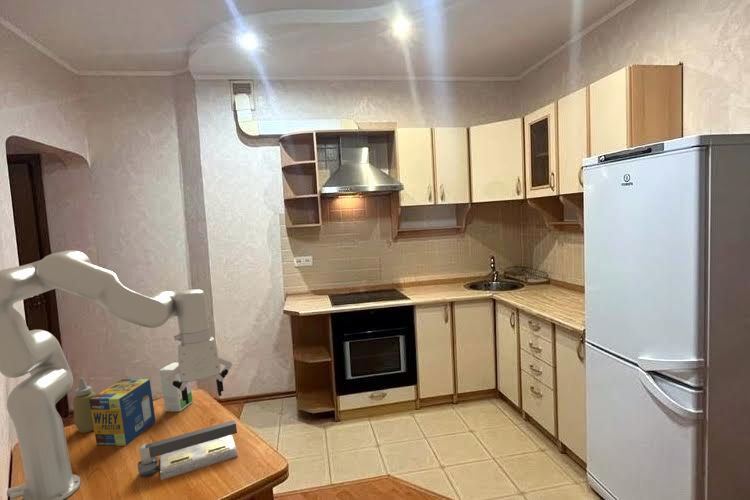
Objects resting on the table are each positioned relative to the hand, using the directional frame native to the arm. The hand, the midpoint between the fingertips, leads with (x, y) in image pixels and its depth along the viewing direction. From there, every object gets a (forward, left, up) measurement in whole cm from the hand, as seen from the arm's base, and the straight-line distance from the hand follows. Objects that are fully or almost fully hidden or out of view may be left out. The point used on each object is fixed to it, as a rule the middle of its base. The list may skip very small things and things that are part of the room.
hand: (203, 397), depth 121 cm
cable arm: (-5, +7, -17) cm, 19 cm away
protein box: (-23, +36, -20) cm, 47 cm away
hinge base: (-16, +7, -20) cm, 26 cm away
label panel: (-3, +7, -20) cm, 21 cm away
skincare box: (-7, +47, -20) cm, 52 cm away
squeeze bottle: (-35, +47, -20) cm, 62 cm away
